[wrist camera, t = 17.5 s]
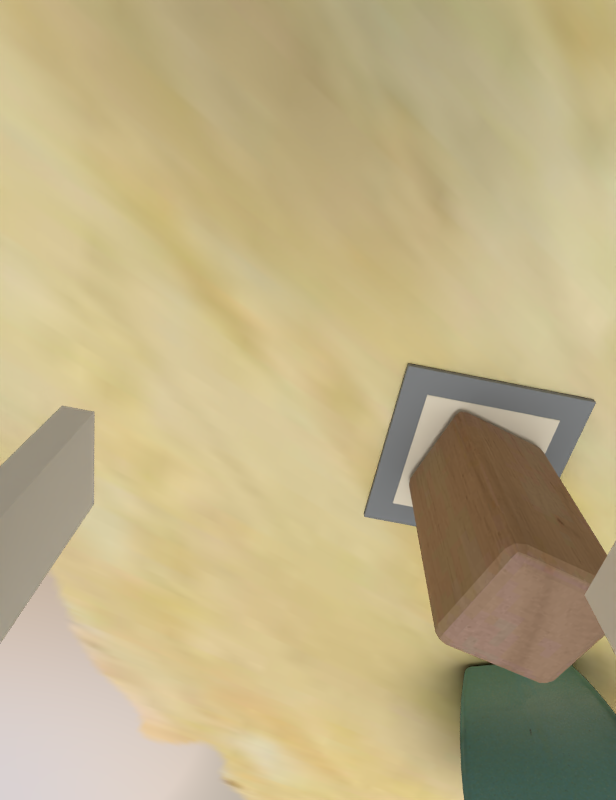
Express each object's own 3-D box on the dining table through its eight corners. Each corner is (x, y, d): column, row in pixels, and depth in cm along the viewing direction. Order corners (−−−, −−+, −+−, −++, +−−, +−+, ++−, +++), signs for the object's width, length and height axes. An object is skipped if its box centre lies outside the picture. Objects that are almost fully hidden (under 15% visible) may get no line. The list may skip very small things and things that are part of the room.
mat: (407, 363, 51) (408, 366, 50) (593, 399, 51) (596, 402, 51) (364, 513, 59) (364, 517, 58) (524, 543, 59) (526, 547, 59)
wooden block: (545, 446, 53) (646, 607, 35) (485, 518, 57) (549, 693, 40) (458, 403, 52) (518, 549, 34) (403, 480, 56) (431, 645, 38)
